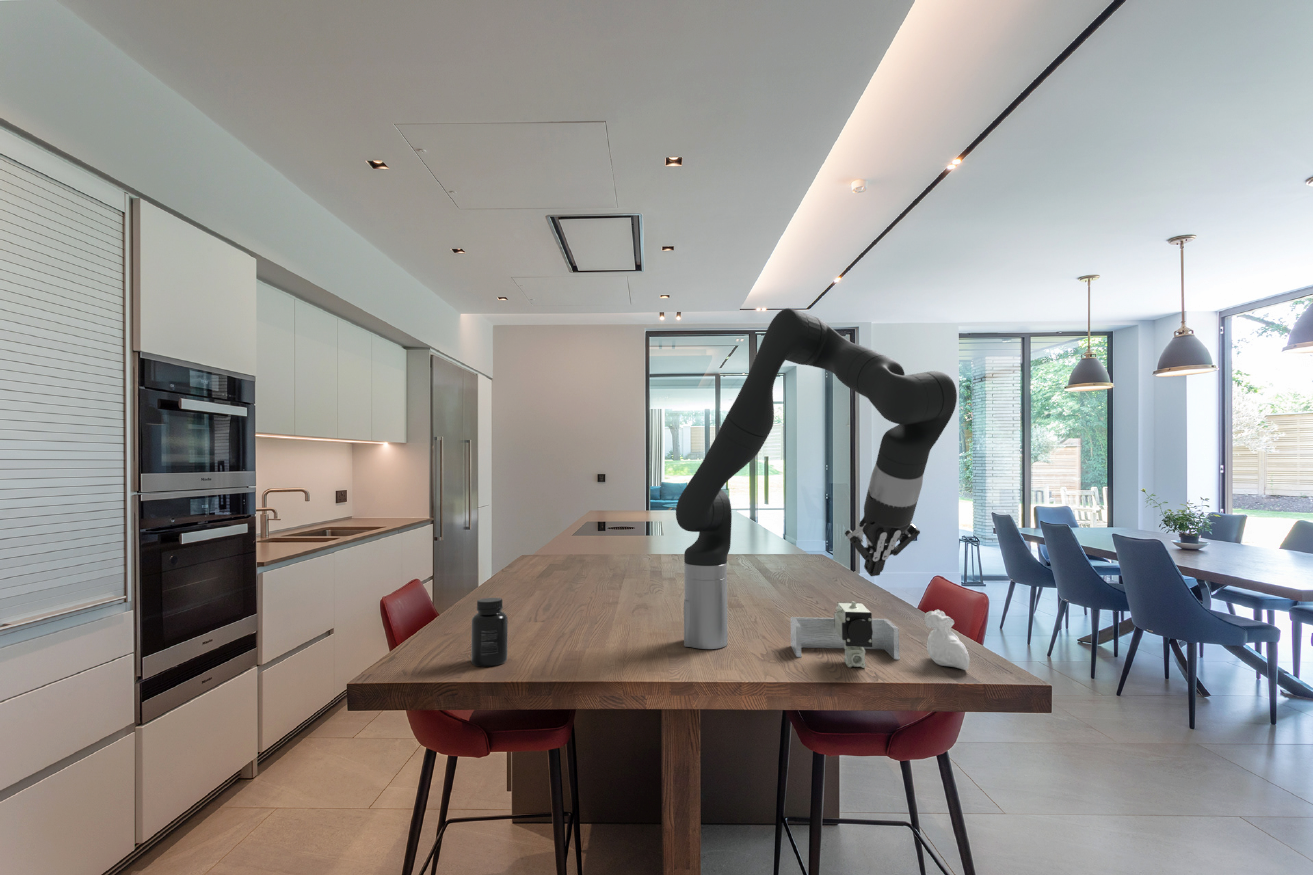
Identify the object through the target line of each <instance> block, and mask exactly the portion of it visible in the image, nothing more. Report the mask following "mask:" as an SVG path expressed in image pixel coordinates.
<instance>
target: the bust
mask: <svg viewBox="0 0 1313 875" xmlns="http://www.w3.org/2000/svg"><path fill="white" fill-rule="evenodd" d="M923 620H924V624H925V626H926V628H928V629H930V628H931V629H933V630H931V631H930V633H928V637H927V639H926V640H927V641H926V642H927V643H926V649H927V650H926V651H927V653H928V655H929V657H930V659H931V660H932V661H933V662H934V663H935V664H936V665H939V666H944V667H951V668H957V669H961V670H962V671H963V670H965V671H967V670H968V669H969V667H970V661H971V660H970V655H969V652H968V650H967V647H966V645H965V644H964V643H963V642H962V641H961V640H960V639H959V637H958V636H957V634H955V633H954V632H953V631H952V630H951V628H952V627H953V626H954V625H955V620H954V619H952V618H951V617H950V616H948V615H946V613H945V612H944V611H943V610H940V609H935V610H934V611H933V610H929V611H928V612H926V613H925V615H924V619H923Z"/></svg>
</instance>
